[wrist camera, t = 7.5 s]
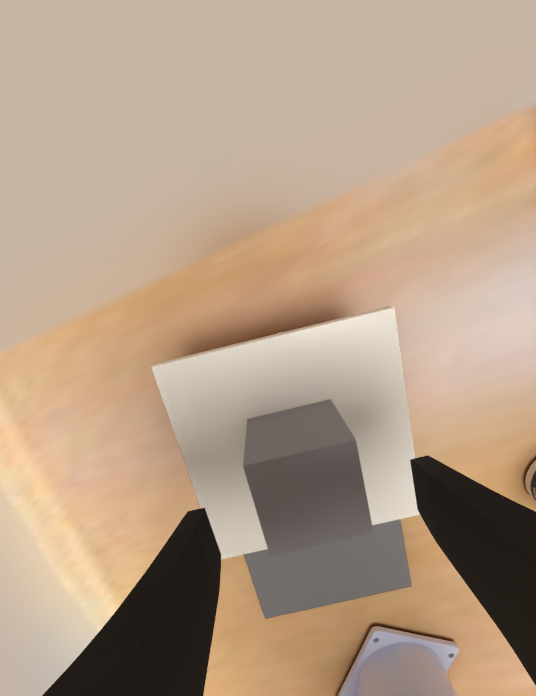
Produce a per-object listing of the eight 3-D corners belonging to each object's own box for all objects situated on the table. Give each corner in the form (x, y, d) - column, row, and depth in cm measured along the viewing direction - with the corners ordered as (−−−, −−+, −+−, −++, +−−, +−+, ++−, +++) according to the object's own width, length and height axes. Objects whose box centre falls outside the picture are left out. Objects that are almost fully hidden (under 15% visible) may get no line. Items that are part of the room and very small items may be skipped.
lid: (416, 505, 15) (473, 584, 11) (220, 549, 15) (207, 642, 11) (387, 306, 13) (446, 315, 9) (156, 363, 13) (109, 397, 9)
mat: (408, 579, 23) (411, 586, 22) (264, 611, 23) (265, 618, 22) (386, 452, 20) (389, 456, 20) (225, 490, 20) (224, 495, 20)
